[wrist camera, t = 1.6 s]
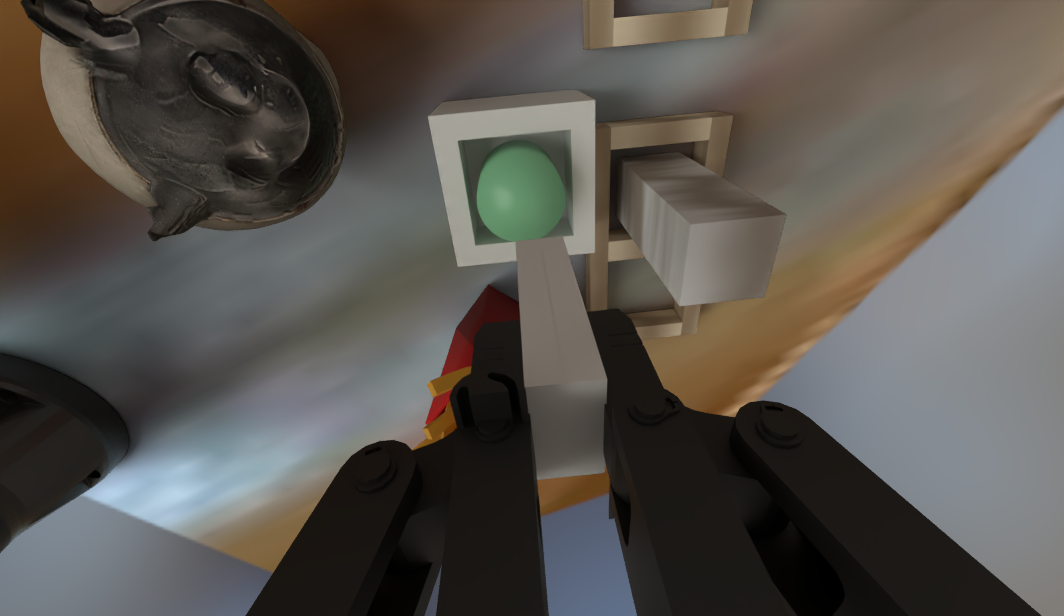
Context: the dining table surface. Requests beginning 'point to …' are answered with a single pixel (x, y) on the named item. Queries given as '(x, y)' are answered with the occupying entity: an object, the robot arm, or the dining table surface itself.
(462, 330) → the french fries
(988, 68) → the dining table surface
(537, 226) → the button
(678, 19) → the pallet
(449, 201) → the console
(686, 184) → the pallet
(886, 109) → the dining table surface
